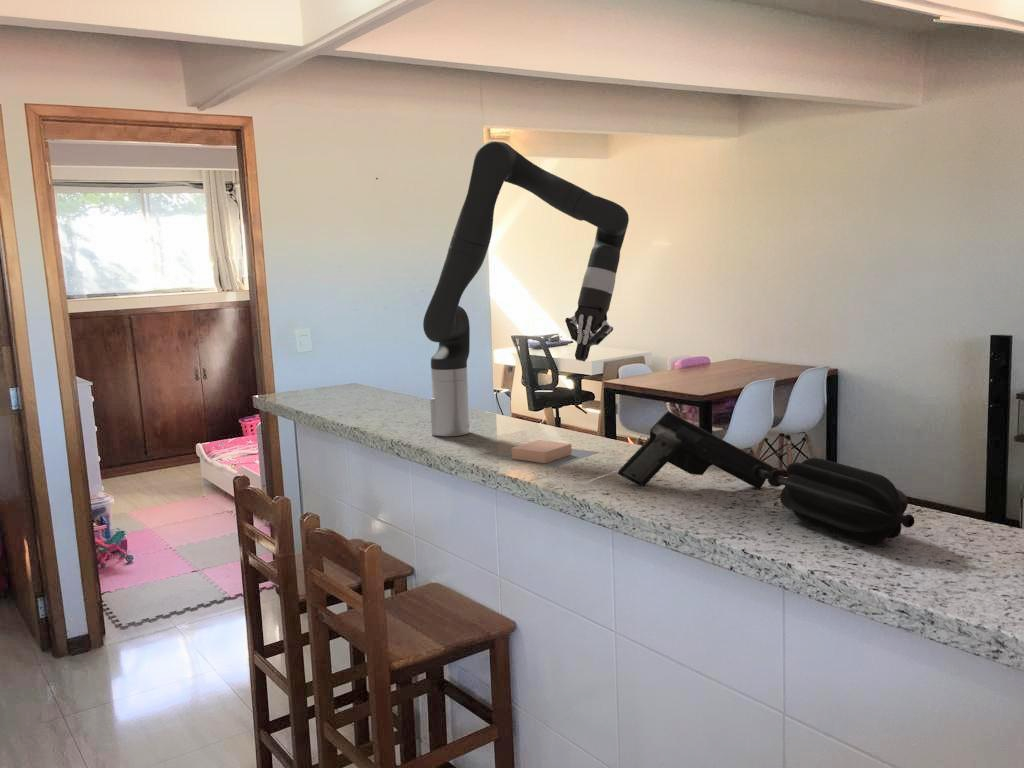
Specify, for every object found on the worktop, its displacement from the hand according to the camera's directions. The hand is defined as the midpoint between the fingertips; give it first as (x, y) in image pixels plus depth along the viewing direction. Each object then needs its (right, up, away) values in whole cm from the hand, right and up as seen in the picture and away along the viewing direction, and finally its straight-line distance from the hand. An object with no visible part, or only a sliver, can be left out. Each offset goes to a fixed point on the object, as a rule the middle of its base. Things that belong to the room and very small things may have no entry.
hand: (580, 360), depth 199 cm
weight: (+33, -28, -66) cm, 79 cm away
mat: (-8, -22, -12) cm, 26 cm away
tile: (-7, -20, -10) cm, 23 cm away
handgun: (+18, -25, -41) cm, 51 cm away
